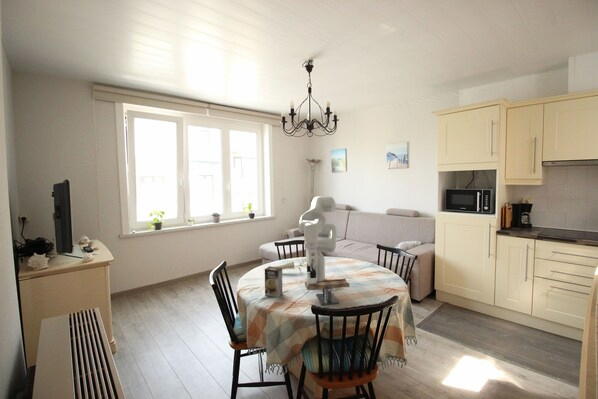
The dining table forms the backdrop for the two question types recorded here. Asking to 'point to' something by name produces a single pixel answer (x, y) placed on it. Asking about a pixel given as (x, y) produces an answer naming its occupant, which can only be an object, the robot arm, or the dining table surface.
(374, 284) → the dining table surface
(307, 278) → the rider
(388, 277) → the dining table surface
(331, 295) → the pivot stand
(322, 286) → the beam
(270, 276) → the coffee box
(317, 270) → the robot arm
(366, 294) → the dining table surface
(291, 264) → the flower vase
